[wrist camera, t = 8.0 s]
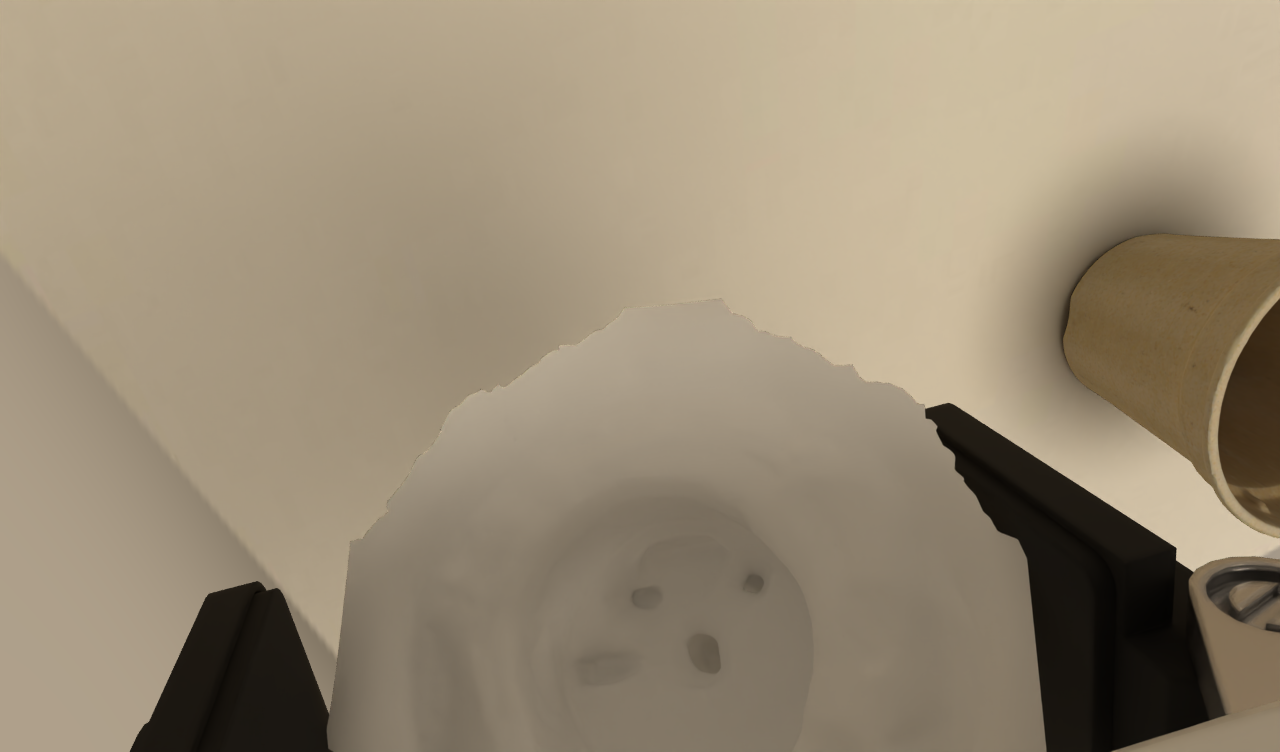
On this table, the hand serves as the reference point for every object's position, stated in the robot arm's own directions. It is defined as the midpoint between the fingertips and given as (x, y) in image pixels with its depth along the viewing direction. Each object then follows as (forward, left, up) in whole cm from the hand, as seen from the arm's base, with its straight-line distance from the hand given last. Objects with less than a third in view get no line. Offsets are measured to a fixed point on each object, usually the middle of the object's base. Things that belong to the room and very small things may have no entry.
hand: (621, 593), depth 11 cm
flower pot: (+22, -6, -18) cm, 29 cm away
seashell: (0, 0, -2) cm, 2 cm away
